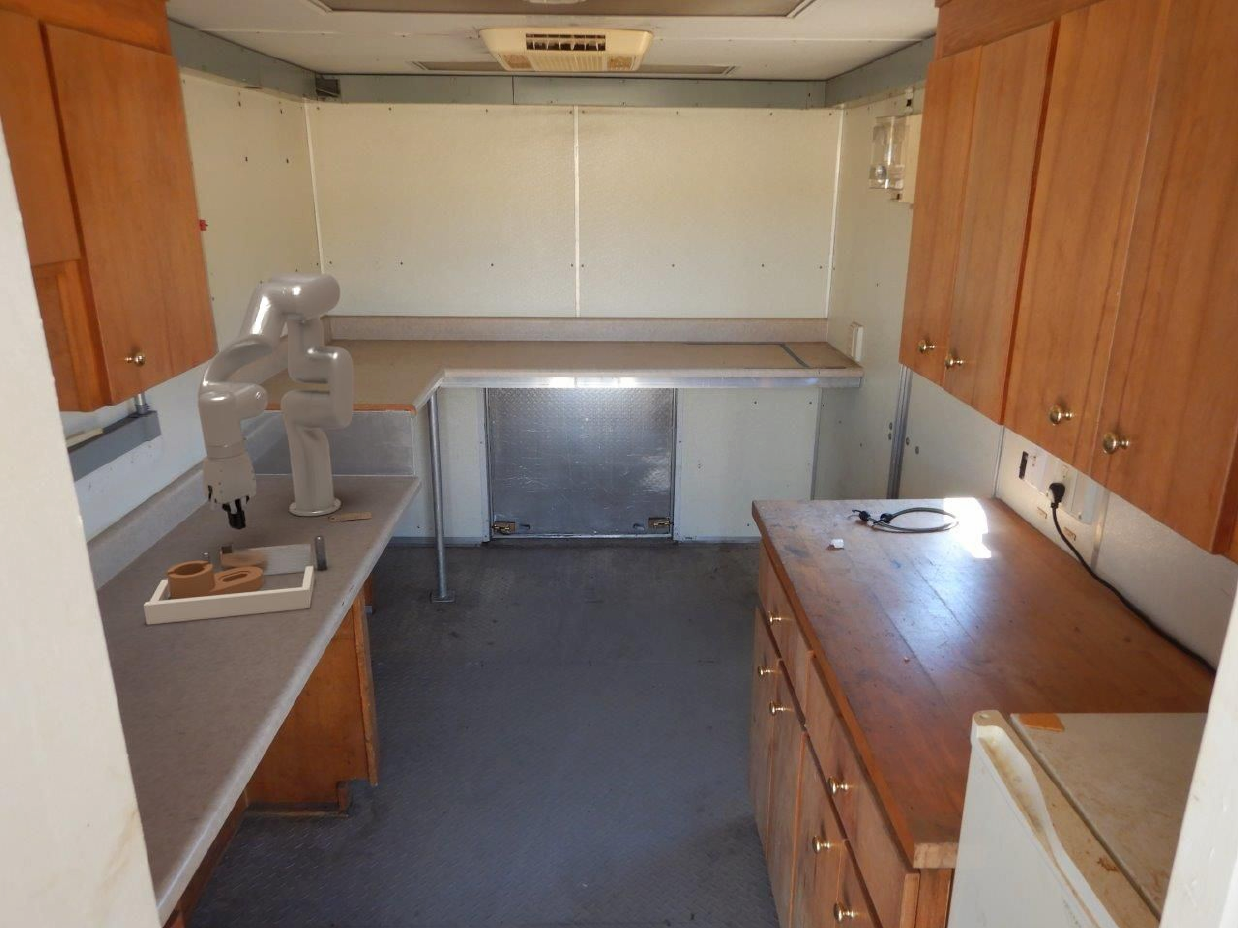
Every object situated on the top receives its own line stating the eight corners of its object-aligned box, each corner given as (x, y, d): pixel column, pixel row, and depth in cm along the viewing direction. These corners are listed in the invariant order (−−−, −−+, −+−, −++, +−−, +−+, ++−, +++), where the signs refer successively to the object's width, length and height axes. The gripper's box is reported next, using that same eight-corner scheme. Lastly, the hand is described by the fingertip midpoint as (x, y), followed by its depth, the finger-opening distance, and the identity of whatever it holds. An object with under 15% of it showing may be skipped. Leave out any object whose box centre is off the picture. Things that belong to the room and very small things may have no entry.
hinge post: (317, 567, 192) (314, 535, 190) (327, 566, 193) (324, 535, 190) (317, 571, 190) (313, 539, 188) (326, 570, 191) (323, 538, 189)
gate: (313, 567, 192) (309, 535, 190) (312, 571, 190) (309, 539, 188) (224, 576, 188) (220, 543, 185) (223, 580, 186) (218, 547, 183)
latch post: (206, 577, 187) (202, 551, 185) (214, 576, 187) (210, 550, 186) (204, 580, 186) (200, 554, 184) (212, 579, 186) (209, 553, 184)
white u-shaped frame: (163, 593, 180) (160, 575, 178) (314, 578, 187) (312, 561, 185) (147, 624, 167) (143, 605, 165) (309, 607, 174) (307, 589, 173)
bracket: (179, 613, 171) (174, 581, 169) (166, 599, 177) (161, 568, 175) (270, 587, 183) (267, 556, 181) (255, 574, 189) (251, 545, 187)
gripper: (243, 436, 195) (255, 512, 201) (182, 456, 182) (197, 536, 189) (266, 442, 191) (277, 518, 197) (205, 462, 179) (219, 543, 185)
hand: (238, 527), depth 193 cm, fingers closed
